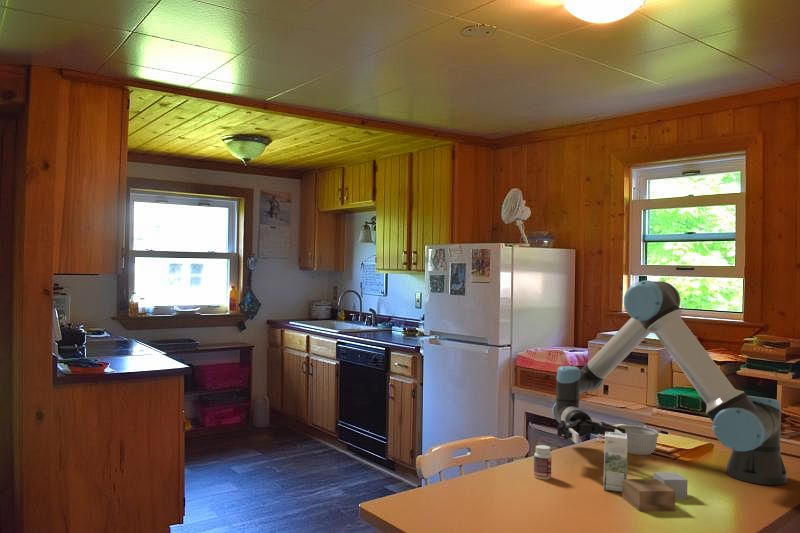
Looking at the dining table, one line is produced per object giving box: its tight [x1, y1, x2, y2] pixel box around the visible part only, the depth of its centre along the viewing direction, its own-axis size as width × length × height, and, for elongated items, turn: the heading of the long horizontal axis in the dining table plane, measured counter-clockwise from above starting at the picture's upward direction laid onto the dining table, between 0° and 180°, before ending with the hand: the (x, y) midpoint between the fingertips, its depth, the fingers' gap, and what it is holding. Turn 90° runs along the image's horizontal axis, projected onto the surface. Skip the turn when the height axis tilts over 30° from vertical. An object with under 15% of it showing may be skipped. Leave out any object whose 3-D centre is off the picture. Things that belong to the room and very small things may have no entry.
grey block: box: [653, 471, 688, 500], centre depth 162 cm, size 6×6×5 cm
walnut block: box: [621, 478, 676, 512], centre depth 154 cm, size 9×9×5 cm
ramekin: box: [615, 424, 659, 456], centre depth 204 cm, size 13×13×7 cm
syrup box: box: [603, 432, 628, 493], centre depth 165 cm, size 6×6×14 cm
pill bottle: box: [533, 444, 553, 480], centre depth 174 cm, size 5×5×8 cm
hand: (601, 439), depth 175 cm, fingers open, 13 cm apart
